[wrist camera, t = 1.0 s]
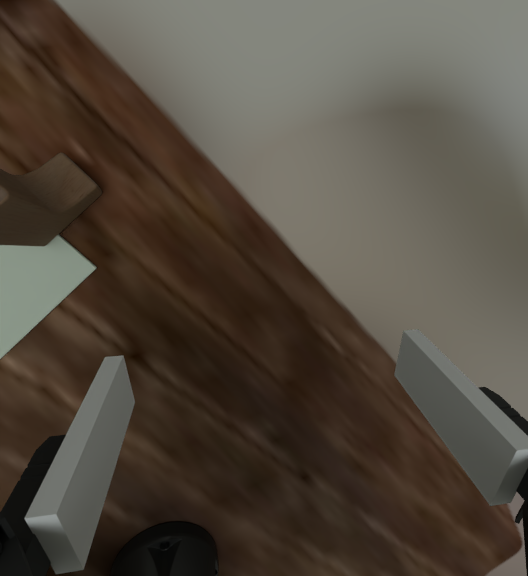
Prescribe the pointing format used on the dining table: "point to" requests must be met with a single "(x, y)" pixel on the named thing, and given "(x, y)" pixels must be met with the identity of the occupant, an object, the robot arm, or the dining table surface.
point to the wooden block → (43, 201)
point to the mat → (35, 285)
